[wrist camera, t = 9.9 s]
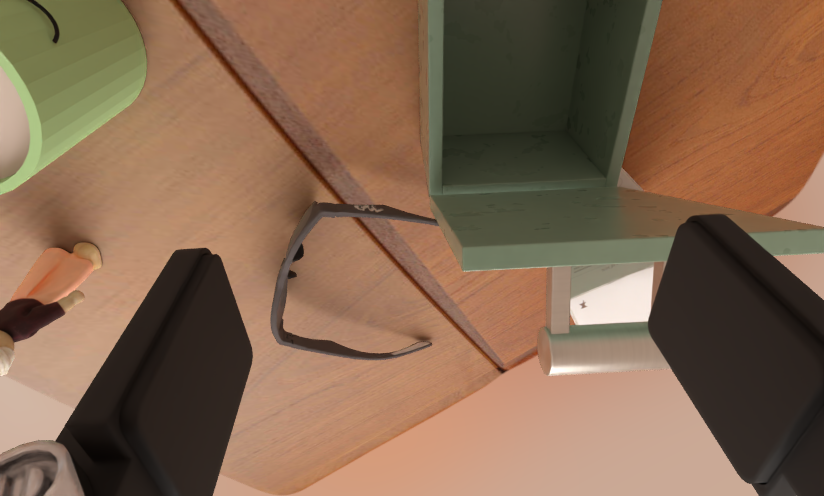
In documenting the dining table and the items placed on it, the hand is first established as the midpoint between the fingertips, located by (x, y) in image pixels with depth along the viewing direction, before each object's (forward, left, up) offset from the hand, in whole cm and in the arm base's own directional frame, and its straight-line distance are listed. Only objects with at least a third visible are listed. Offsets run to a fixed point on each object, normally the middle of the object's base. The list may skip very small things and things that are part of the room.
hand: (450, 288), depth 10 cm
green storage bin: (+1, +7, -27) cm, 27 cm away
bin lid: (+5, +7, -11) cm, 13 cm away
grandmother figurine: (+17, -29, -27) cm, 43 cm away
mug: (-1, -23, -27) cm, 36 cm away
